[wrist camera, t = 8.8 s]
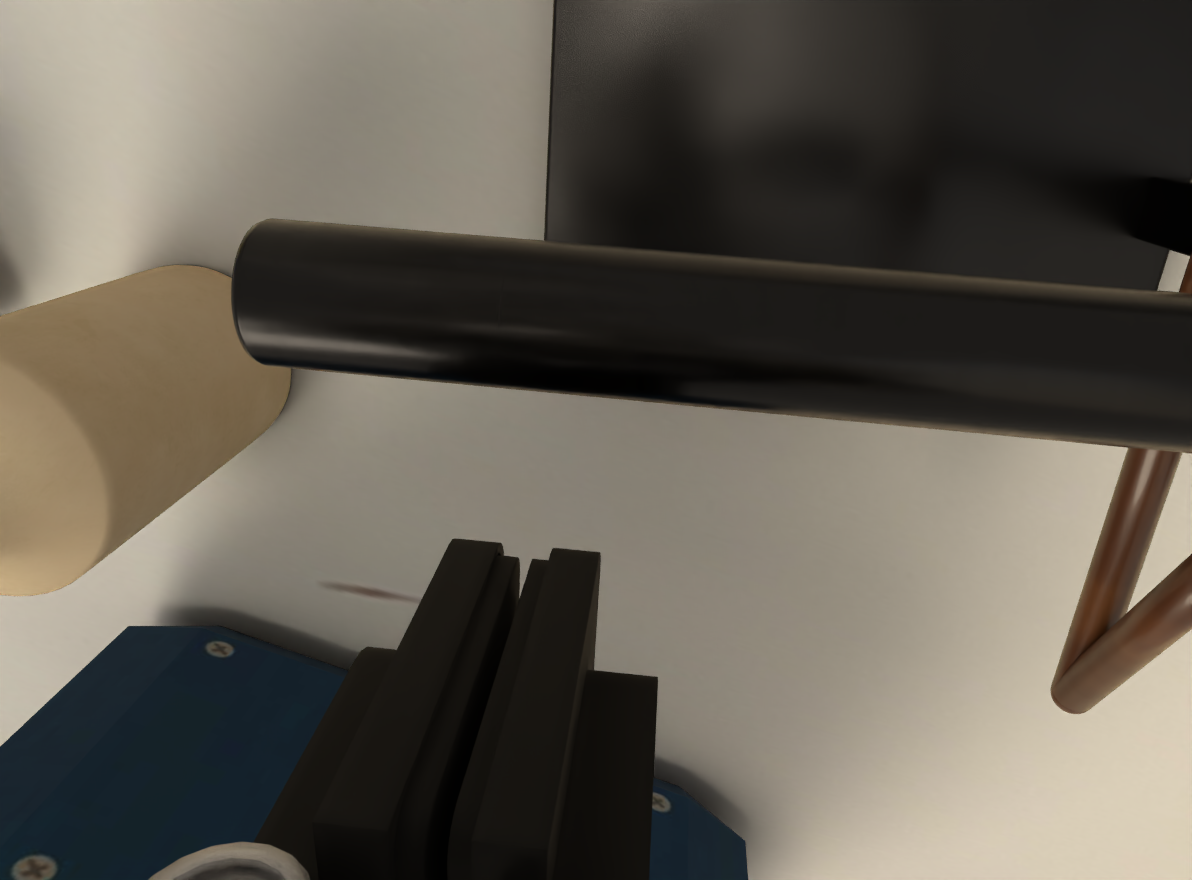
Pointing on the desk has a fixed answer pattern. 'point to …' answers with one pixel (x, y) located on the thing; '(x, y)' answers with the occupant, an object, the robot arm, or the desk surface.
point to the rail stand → (806, 225)
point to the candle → (118, 415)
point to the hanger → (1125, 587)
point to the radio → (211, 762)
